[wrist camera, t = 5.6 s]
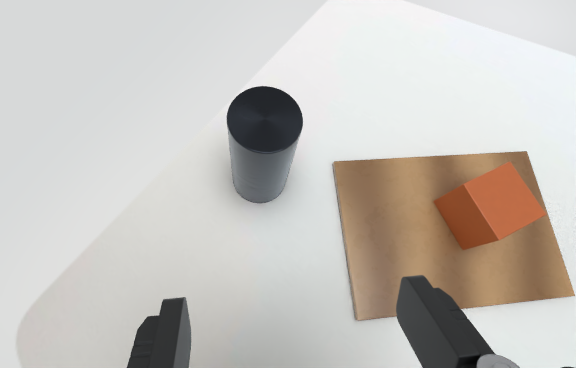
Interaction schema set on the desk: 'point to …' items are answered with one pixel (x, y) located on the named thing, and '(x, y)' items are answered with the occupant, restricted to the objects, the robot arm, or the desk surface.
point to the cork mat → (438, 235)
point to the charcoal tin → (262, 141)
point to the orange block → (489, 207)
